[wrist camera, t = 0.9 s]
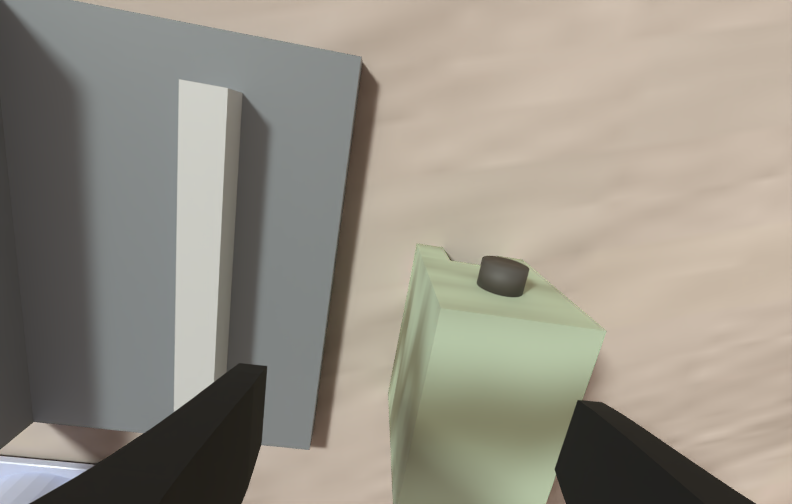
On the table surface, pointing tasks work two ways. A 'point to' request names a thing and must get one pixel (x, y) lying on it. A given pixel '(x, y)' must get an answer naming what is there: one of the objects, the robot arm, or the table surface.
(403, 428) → the block
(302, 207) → the board
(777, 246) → the table surface
